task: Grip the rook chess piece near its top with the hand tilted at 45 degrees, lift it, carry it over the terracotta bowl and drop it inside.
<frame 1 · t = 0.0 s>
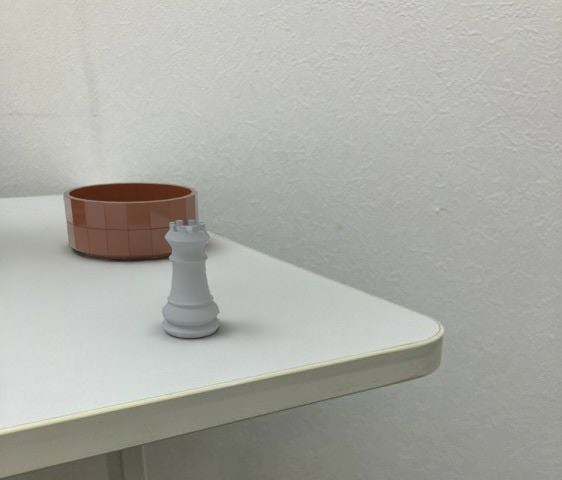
rook chess piece: (191, 331, 50), on the table
bowl: (135, 246, 74), on the table
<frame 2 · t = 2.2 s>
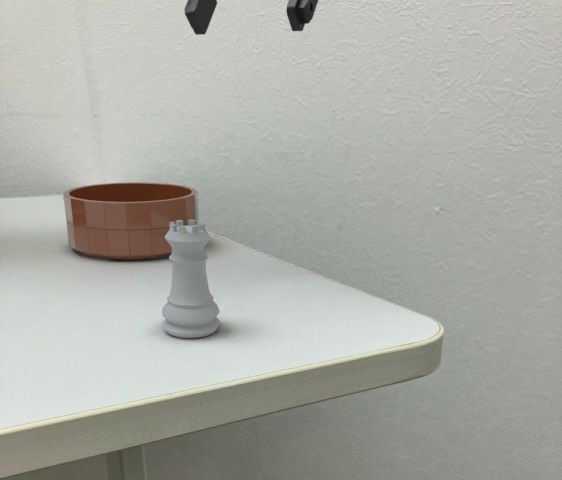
hand: (243, 24, 51), 21 cm above the table, tool tilted 45°, fingers open, 8 cm apart
nothing on the table moved.
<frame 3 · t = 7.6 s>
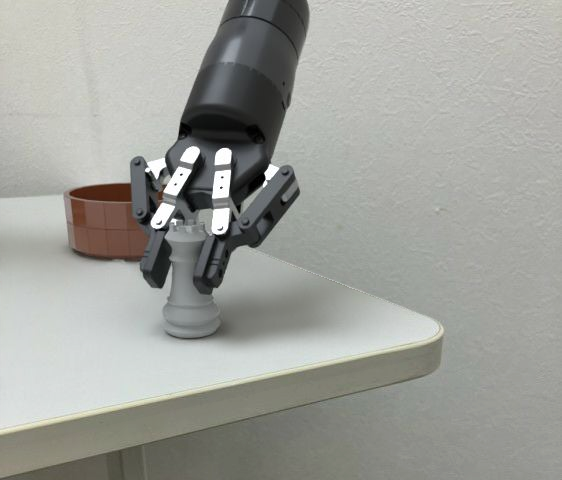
hand: (176, 285, 47), 4 cm above the table, tool tilted 45°, fingers closed on rook chess piece, 3 cm apart
rook chess piece: (191, 331, 50), on the table, touching gripper
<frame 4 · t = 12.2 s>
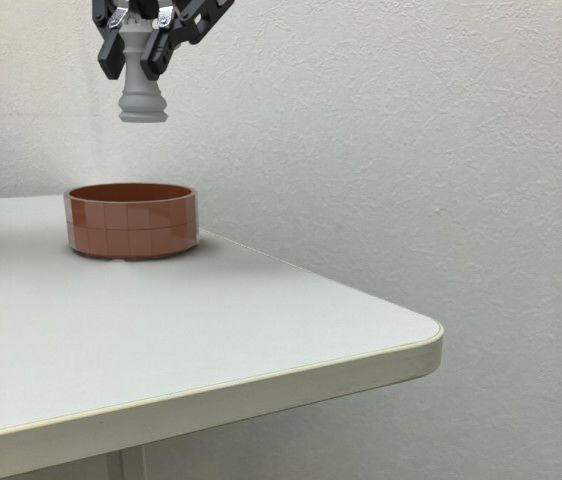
hand: (128, 72, 55), 18 cm above the table, tool tilted 45°, fingers closed on rook chess piece, 3 cm apart
rook chess piece: (143, 123, 59), point 14 cm above the table, touching gripper
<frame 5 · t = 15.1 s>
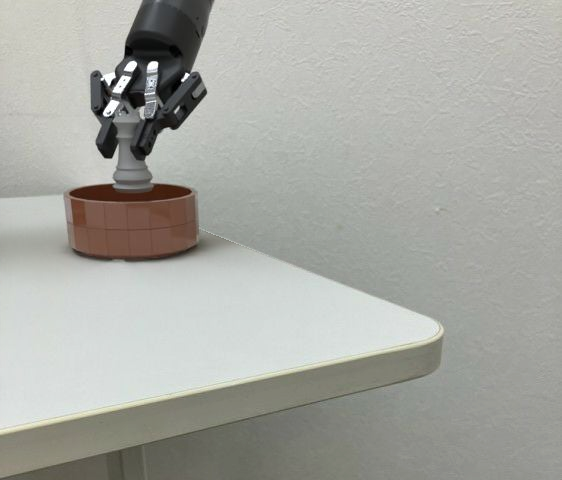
hand: (120, 153, 68), 10 cm above the table, tool tilted 45°, fingers closed on rook chess piece, 3 cm apart
rook chess piece: (133, 192, 72), point 6 cm above the table, touching gripper
when the fingers open (5 cm above the table, at t = 16.9 s): rook chess piece stays where it is, resting on bowl.
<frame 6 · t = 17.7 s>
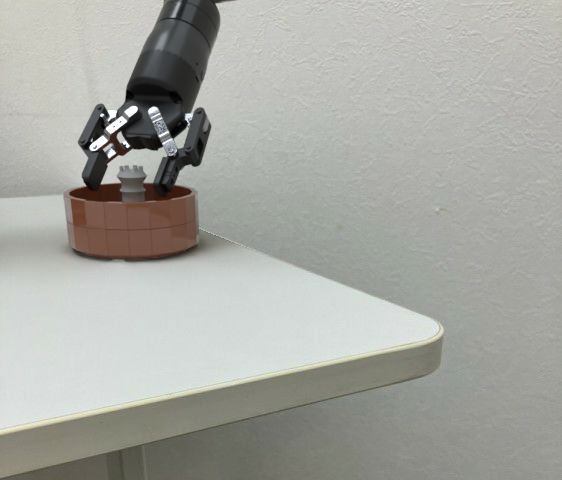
hand: (123, 189, 71), 6 cm above the table, tool tilted 45°, fingers open, 8 cm apart
rook chess piece: (136, 242, 74), resting on bowl
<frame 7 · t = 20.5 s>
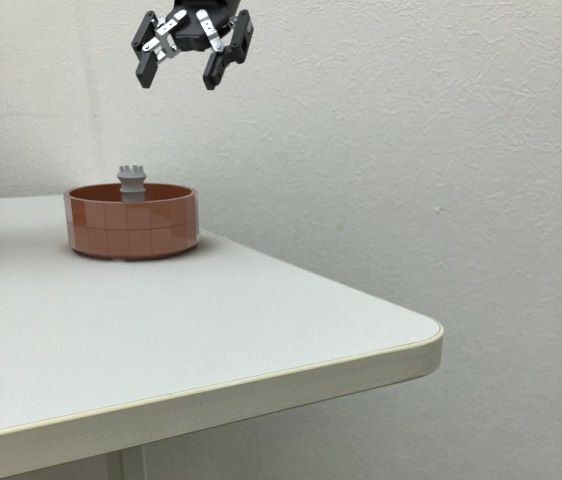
hand: (174, 84, 77), 17 cm above the table, tool tilted 45°, fingers open, 8 cm apart
nothing on the table moved.
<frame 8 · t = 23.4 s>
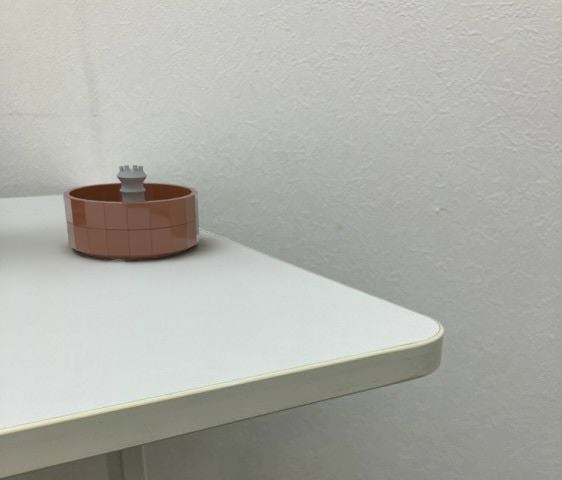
nothing on the table moved.
at the end: rook chess piece inside the target area in the bowl (0.2 cm from its centre), point 0.4 cm above the bowl's base; the gripper is holding nothing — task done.
